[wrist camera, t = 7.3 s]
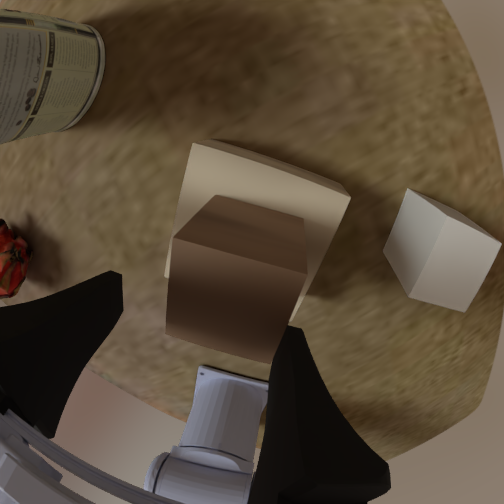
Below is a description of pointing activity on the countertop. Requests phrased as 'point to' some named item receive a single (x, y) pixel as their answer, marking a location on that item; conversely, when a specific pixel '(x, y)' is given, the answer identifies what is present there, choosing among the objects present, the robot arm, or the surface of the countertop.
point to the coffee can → (46, 73)
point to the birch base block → (263, 194)
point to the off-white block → (439, 252)
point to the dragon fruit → (12, 261)
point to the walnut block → (236, 278)
